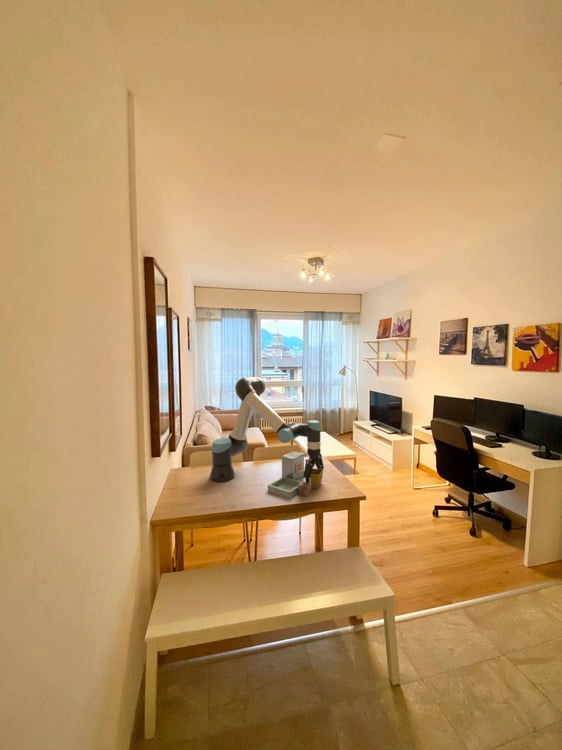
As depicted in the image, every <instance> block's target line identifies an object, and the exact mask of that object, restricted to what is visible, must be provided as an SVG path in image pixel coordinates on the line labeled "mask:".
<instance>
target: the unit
mask: <svg viewBox="0 0 562 750" xmlns="http://www.w3.org/2000/svg"><path fill="white" fill-rule="evenodd" d="M280 458H281V478H282V477H287V478H291V479H294V480H298V481H301V479H303V478H304V477H303V475H304V470H305V453H303V452H298V451H295V450H293V451H291V452H288V453H286V454H284V455H282V456H281V457H280Z"/></svg>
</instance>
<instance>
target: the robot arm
mask: <svg viewBox="0 0 562 750" xmlns="http://www.w3.org/2000/svg"><path fill="white" fill-rule="evenodd" d="M234 390H235V394H236V395H237V397H238V398H239V400H241V402H240V405H239V409H238V412H237V416H236V419H235V422H234V426H233V428H232V430H231V431H230V432H229V434H228V437H221V438H220V437H219V438H217V439H215V440H214V441H213V442H212V444H211V454H212V455H211V456H212V457H211V458H212V460H211V461H212V467H211V470H210V473H209V479H210V480H211V481H212V482H217V483H224V482H229V481H231V480H233V479H235V476H236V474H235V469H234V467H233V464H232V458H233V457H236V456H237V455H240V454H242V453H243V452H245V450H247V448H248V444H249V443H248V437H247V430H248V427H249V424H250V422H251V417H252V414H253V411H254V412H255V413H256V414H258V416H259V417H260V418H261V419H262V420H263V421H264V422H265V423H266V424H268V426H269V427H271V429H272V430H274V431H275V432H276V434H277V437H278V441H280V442H281V443H283V444H286V443H290V442H291V441H293V440H295V439H297V438H298V437H303V438H306V441H307V442H306V447H307V448H306V449H307V451H306V452H307V453H306V454H307V456H308V458H306V459H305V464H304V475H303V478H304V479H305V478H306V479H305V482H309V483H310V490H311V489H312V488H311V478H310V475H311V472H312V469H313V468H314V467H316V469H322V470H323V471H324V468H325V466H324V462H323V454H322V453H321V445H322V444H321V422H320V421H319V420H315V419H314V420H307V422H306V423H303V422H296V421H295V422H294V421H293V422H292V421H290V422H288V423H287V422H285V420H283V418H281V417H280V415H278V414H277V412H276V411H274V409H272V408H271V406H269V405H268V404H267V403H266V402H265V401H264V399H262V398H261V397H260V396H261V395H262V394H263V393H265V390H266V383H265V381H264V380H263V379H262V378H261V377H259V376H251V377H242V378H240V379H238V381H237V382H236V383H235V388H234ZM322 482H323V480H322V481H321V483H322Z"/></svg>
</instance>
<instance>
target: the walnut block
mask: <svg viewBox="0 0 562 750" xmlns="http://www.w3.org/2000/svg"><path fill="white" fill-rule="evenodd" d="M310 492H311V489H310V483H309V482H306V481H301V482H300V483H299V485H298V497H303V498H309V495H310Z"/></svg>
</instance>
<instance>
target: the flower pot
mask: <svg viewBox="0 0 562 750" xmlns="http://www.w3.org/2000/svg"><path fill="white" fill-rule="evenodd" d="M323 474H324V469H323V470H322V469H317V468H314V467H313V469H312V472H311V475H310V478H311V489H319V487H320V485H321V483H322V482H323ZM304 479H305V480H306V478H304ZM321 481H322V482H321Z"/></svg>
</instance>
